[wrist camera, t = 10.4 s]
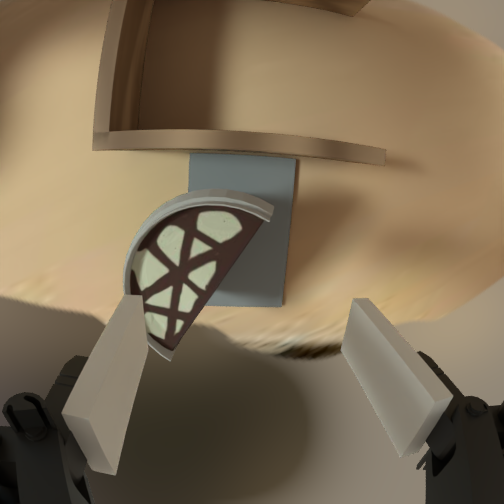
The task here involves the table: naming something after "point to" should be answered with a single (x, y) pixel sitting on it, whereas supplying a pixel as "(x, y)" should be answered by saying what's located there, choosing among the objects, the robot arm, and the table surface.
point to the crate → (130, 138)
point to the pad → (267, 236)
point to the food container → (188, 257)
